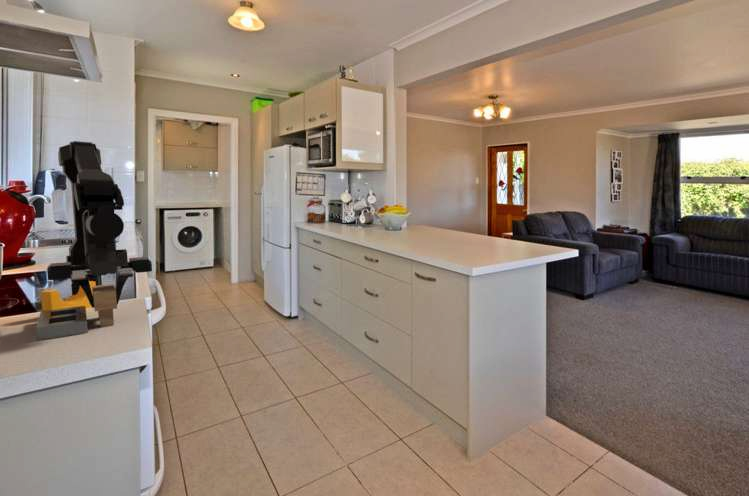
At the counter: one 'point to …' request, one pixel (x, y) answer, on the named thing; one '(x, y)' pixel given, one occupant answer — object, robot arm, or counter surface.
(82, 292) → the pipe clamp
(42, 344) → the counter surface
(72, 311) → the rail plate
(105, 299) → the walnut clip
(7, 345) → the counter surface
